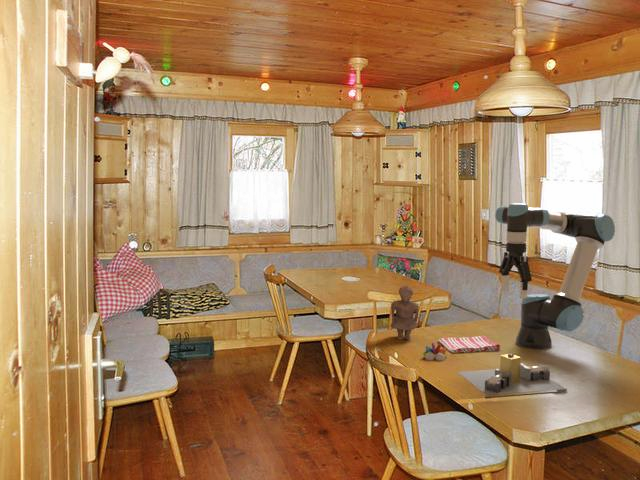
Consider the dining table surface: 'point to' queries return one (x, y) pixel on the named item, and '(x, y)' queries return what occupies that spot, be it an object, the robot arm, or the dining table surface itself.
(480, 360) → the dining table surface
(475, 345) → the dish towel
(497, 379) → the grey notched block
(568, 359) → the dining table surface
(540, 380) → the grey base plate
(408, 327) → the clay figurine
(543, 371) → the grey metal block
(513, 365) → the tan rectangular block
